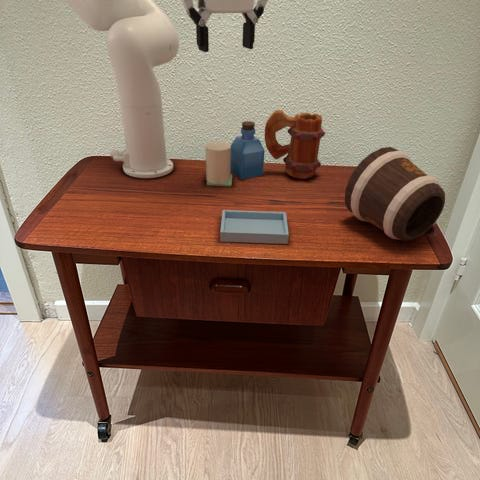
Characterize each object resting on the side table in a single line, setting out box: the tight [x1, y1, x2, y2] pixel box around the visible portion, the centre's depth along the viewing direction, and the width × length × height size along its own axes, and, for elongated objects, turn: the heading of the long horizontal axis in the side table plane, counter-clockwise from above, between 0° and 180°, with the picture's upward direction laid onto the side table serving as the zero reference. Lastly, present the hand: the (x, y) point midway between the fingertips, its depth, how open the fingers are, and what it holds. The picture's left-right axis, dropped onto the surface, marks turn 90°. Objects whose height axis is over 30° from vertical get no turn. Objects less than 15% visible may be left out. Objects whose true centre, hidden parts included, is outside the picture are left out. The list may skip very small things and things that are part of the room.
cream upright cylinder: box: [205, 140, 232, 184], centre depth 101 cm, size 6×6×8 cm
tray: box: [219, 209, 290, 245], centre depth 86 cm, size 13×9×2 cm
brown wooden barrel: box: [344, 146, 446, 242], centre depth 85 cm, size 20×15×15 cm
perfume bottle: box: [230, 120, 265, 180], centre depth 104 cm, size 6×6×12 cm
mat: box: [206, 174, 233, 187], centre depth 104 cm, size 6×6×1 cm
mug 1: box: [264, 109, 326, 180], centre depth 104 cm, size 15×8×15 cm, turn 84°
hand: (226, 49), depth 82 cm, fingers open, 9 cm apart
